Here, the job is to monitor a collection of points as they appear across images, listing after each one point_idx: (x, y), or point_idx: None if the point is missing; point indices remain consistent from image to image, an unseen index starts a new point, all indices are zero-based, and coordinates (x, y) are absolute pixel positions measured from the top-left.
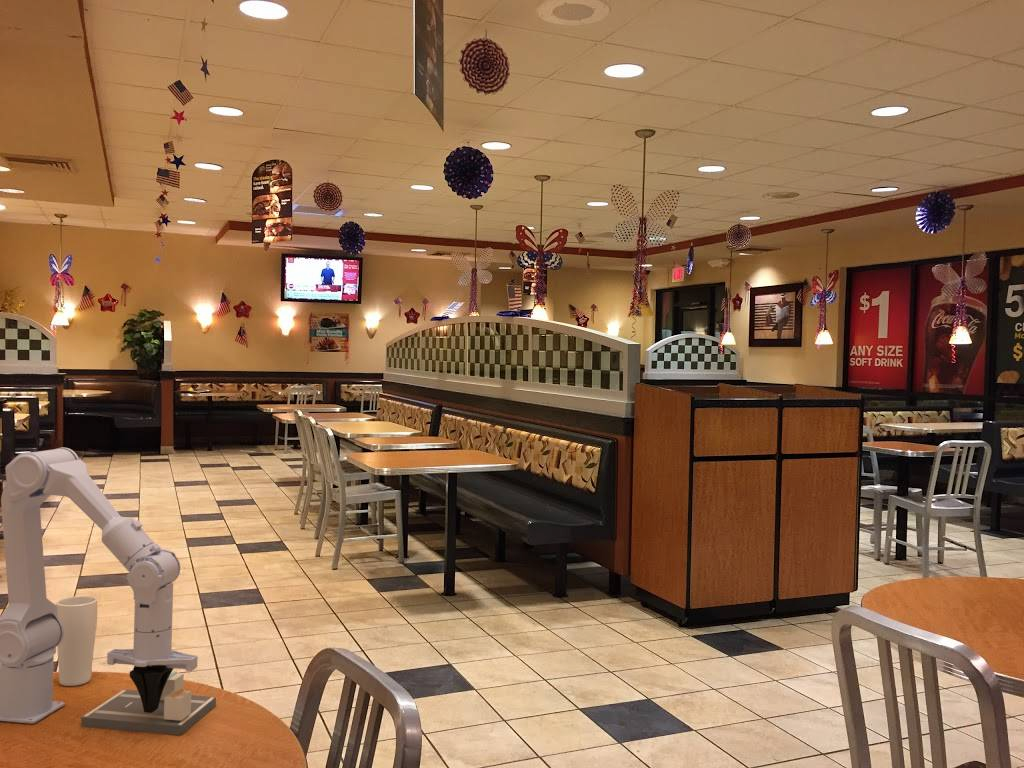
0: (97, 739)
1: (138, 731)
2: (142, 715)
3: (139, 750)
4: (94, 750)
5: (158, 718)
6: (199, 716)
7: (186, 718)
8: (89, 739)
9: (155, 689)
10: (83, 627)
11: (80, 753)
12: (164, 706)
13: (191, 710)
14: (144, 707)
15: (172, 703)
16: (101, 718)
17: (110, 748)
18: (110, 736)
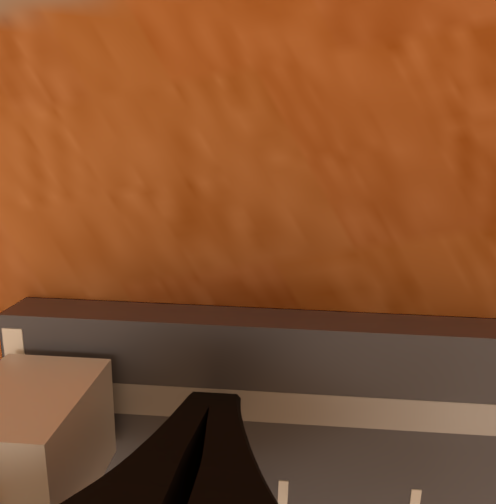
0: (408, 192)
1: (247, 308)
2: (268, 406)
3: (123, 105)
4: (356, 61)
5: (165, 384)
6: None
7: None
8: (451, 185)
9: (90, 487)
10: None
11: (415, 9)
12: (74, 399)
13: None
14: (227, 404)
15: (6, 413)
16: (479, 344)
17: (284, 100)
18: (358, 236)
